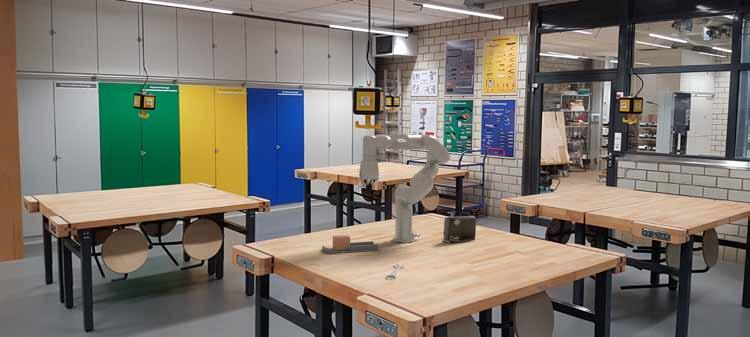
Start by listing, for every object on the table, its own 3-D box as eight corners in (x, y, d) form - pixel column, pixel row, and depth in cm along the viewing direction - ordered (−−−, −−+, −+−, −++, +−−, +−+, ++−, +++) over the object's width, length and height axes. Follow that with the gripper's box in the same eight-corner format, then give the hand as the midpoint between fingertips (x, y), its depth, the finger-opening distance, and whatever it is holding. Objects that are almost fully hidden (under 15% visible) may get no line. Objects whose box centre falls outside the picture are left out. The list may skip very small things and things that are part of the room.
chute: (372, 246, 317) (372, 240, 316) (378, 250, 307) (378, 244, 307) (322, 249, 307) (322, 244, 307) (327, 254, 298) (327, 248, 298)
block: (347, 247, 309) (347, 235, 309) (350, 249, 304) (350, 236, 304) (332, 248, 306) (332, 235, 306) (335, 250, 302) (335, 237, 301)
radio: (472, 237, 344) (473, 212, 343) (481, 240, 337) (482, 214, 335) (439, 240, 334) (440, 215, 332) (448, 244, 326) (449, 217, 324)
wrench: (405, 267, 278) (394, 266, 279) (405, 264, 277) (394, 263, 279) (395, 281, 253) (383, 280, 254) (395, 277, 253) (383, 276, 254)
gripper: (379, 157, 325) (379, 190, 327) (354, 157, 320) (353, 191, 322) (384, 158, 318) (384, 192, 320) (358, 158, 313) (358, 192, 314)
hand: (368, 191), depth 321 cm, fingers closed
